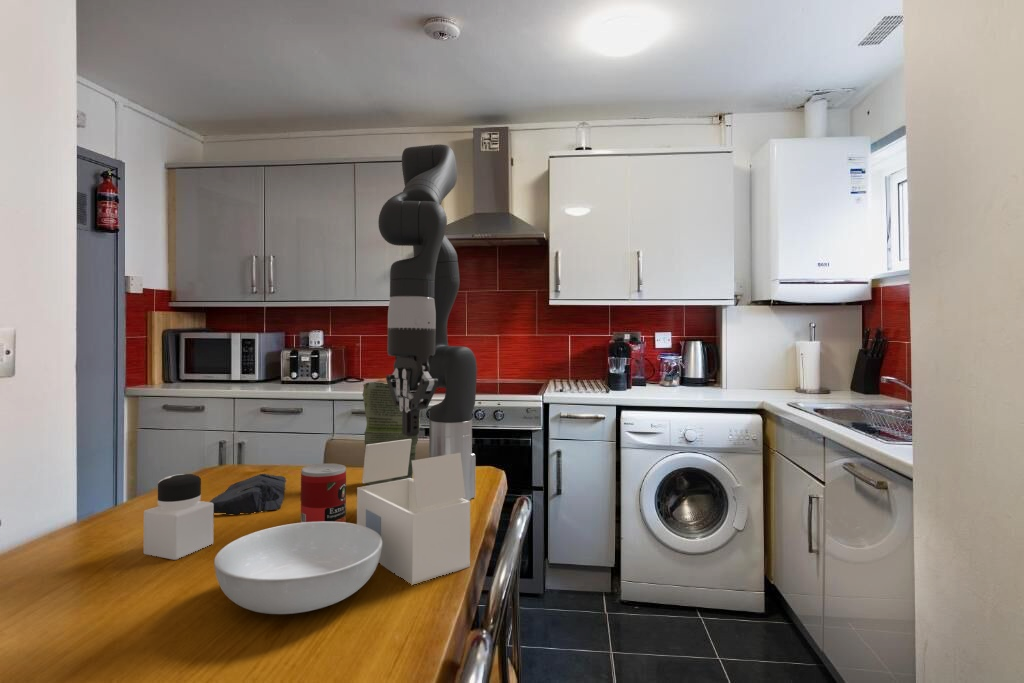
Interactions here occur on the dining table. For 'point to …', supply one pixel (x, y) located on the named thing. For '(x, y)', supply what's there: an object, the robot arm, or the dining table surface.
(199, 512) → the medicine bottle
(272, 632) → the dining table surface
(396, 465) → the far flap
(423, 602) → the dining table surface
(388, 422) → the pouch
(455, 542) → the carton
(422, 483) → the near flap
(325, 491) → the canned food
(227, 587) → the serving bowl
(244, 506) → the dark slate chunk
